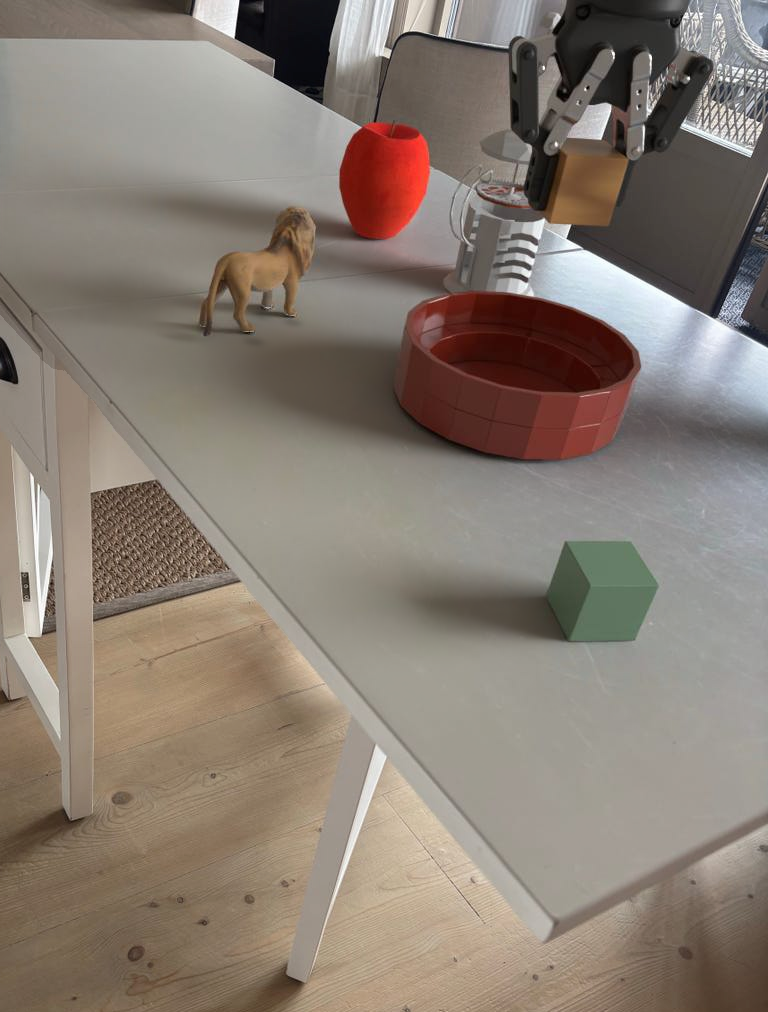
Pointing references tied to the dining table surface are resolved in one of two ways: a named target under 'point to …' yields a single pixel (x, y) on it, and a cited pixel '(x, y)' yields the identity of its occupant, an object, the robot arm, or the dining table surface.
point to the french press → (499, 221)
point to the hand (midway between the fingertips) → (570, 208)
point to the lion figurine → (264, 269)
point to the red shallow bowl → (515, 374)
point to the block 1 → (585, 183)
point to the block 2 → (601, 590)
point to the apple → (383, 178)
